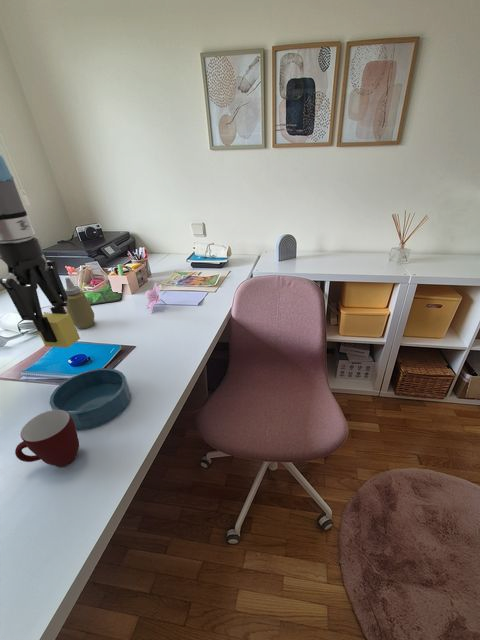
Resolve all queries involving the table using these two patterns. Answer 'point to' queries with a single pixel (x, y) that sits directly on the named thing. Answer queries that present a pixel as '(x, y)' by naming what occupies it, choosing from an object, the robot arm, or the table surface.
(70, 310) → the squeeze bottle
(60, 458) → the mug
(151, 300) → the lily
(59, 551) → the table surface
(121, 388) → the bowl
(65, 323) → the sponge
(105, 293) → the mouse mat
